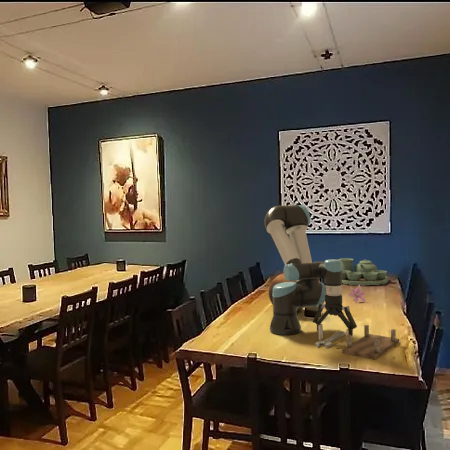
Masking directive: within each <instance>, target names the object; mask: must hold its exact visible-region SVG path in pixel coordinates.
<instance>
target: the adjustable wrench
mask: <svg viewBox="0 0 450 450" xmlns="http://www.w3.org/2000/svg"><path fill="white" fill-rule="evenodd" d="M344 335H345V330H344V331H342V330H340V331H339V330H338V331H337V332H336V333H334V334H333V335H332V336H330V337H328V338H327V339H324V340H319V341H316V342H315V347H316V348H320V347H321V346H324V347H325V349H328V348H330V347H333V343H334V341H336V340H338V339H339V338H341V337H343V336H344Z"/></svg>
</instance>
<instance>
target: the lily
mask: <svg viewBox="0 0 450 450" xmlns="http://www.w3.org/2000/svg"><path fill="white" fill-rule="evenodd" d="M349 289H350V290H351V292H349V293H348V294H347V296H348V297H350V298H353V301H354V303H355V304H357V303H358V302H359V301H361V302H363V303H365V304H366V303H367V301H366V299H365V296H366V295H367V292H363V290H362V286H360V285H358V286H356V288H355V287H354V288H353V287H351V286H350V287H349Z"/></svg>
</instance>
